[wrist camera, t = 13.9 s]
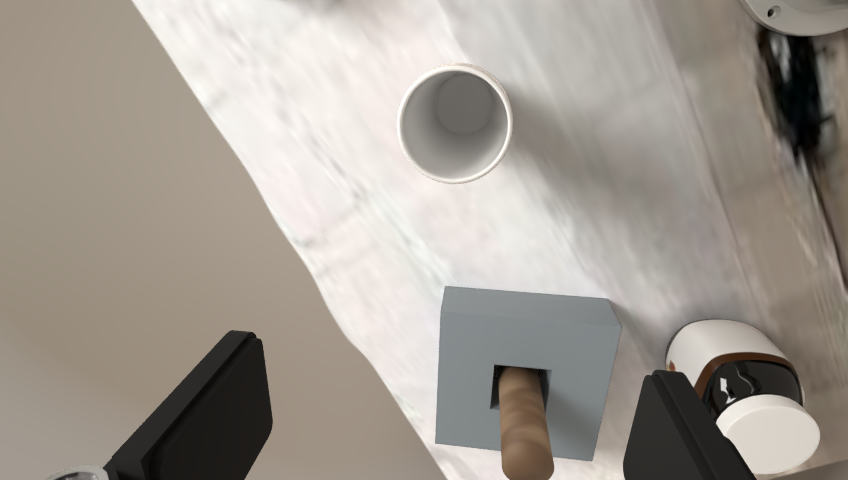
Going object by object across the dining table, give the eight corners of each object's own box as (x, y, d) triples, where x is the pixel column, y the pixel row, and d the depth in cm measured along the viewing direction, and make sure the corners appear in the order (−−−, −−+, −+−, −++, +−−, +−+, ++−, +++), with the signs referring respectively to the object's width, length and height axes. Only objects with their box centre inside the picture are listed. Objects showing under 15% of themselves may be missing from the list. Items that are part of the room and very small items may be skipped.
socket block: (607, 298, 45) (621, 326, 40) (582, 424, 51) (592, 461, 46) (445, 286, 46) (440, 311, 42) (439, 409, 52) (435, 443, 48)
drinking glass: (434, 148, 41) (409, 195, 27) (418, 71, 39) (381, 79, 25) (509, 133, 40) (523, 174, 26) (497, 52, 38) (504, 50, 24)
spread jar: (671, 305, 44) (731, 385, 33) (799, 311, 43) (903, 396, 32) (651, 403, 49) (698, 501, 38) (765, 411, 47) (848, 515, 37)
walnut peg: (537, 344, 48) (557, 450, 35) (533, 375, 49) (550, 488, 36) (499, 340, 48) (504, 444, 35) (496, 371, 49) (499, 482, 37)
